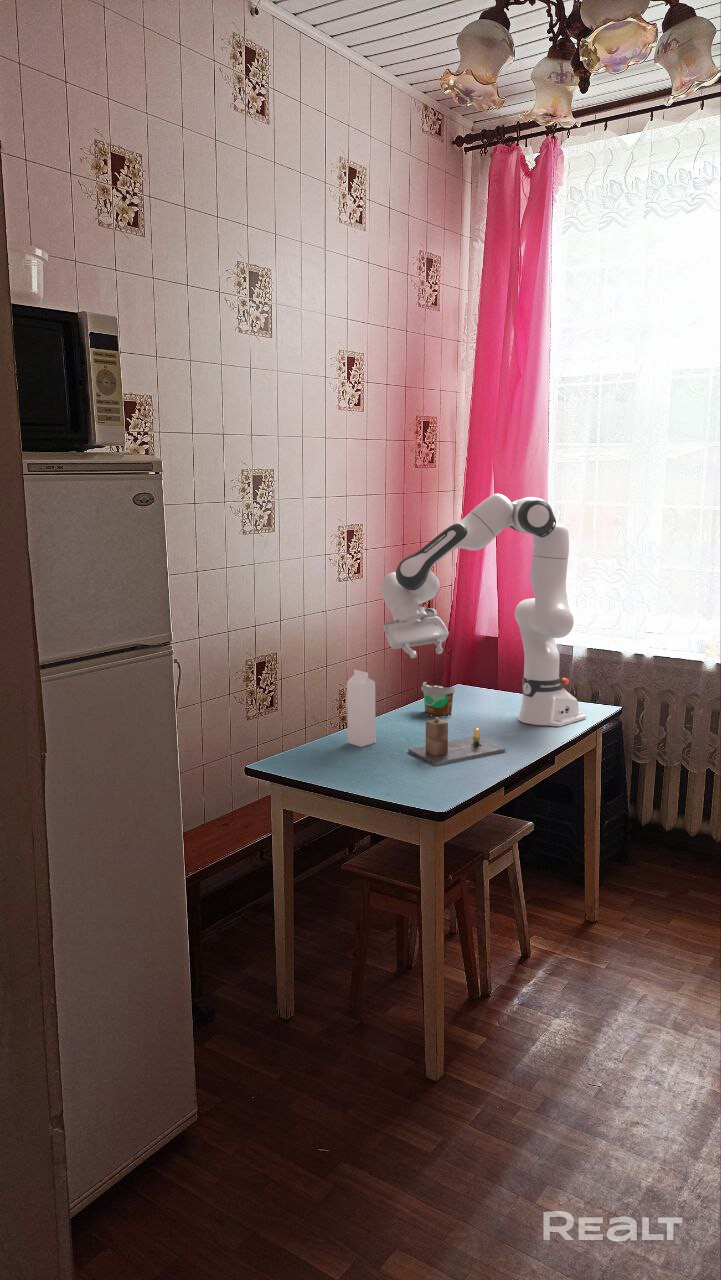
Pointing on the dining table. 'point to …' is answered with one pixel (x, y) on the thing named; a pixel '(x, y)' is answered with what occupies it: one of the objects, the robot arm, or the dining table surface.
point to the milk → (361, 709)
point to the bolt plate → (459, 750)
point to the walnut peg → (436, 737)
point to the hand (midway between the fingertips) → (427, 654)
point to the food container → (438, 699)
